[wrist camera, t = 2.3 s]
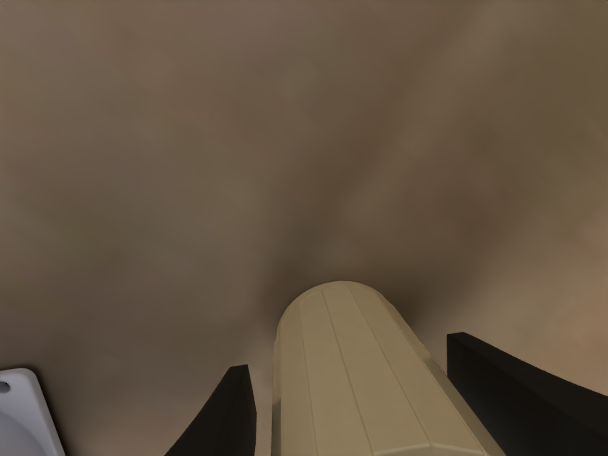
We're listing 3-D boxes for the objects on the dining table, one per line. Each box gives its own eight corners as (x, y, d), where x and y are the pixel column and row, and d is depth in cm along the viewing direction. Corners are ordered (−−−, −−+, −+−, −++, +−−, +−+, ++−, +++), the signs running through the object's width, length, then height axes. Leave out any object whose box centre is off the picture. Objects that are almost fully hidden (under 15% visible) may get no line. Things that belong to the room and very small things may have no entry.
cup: (284, 402, 14) (290, 675, 7) (266, 290, 13) (249, 474, 5) (403, 383, 14) (534, 626, 7) (397, 271, 13) (549, 425, 6)
